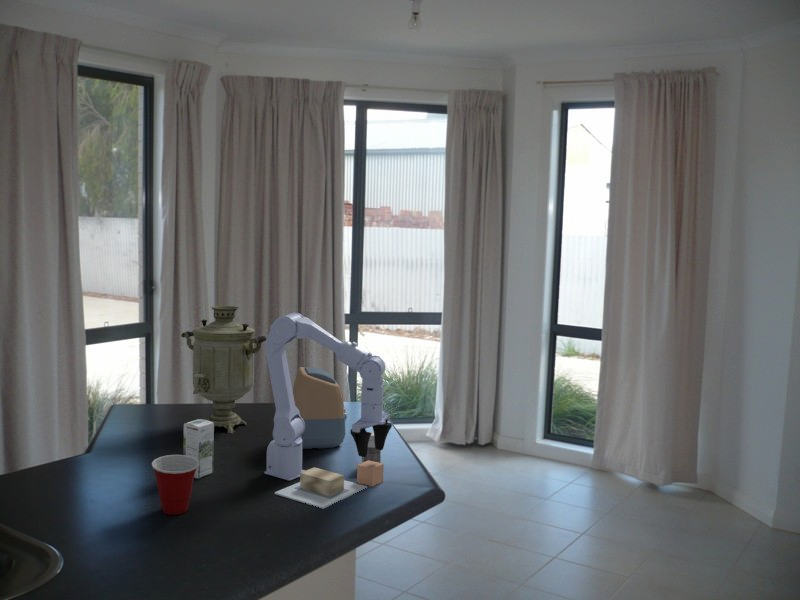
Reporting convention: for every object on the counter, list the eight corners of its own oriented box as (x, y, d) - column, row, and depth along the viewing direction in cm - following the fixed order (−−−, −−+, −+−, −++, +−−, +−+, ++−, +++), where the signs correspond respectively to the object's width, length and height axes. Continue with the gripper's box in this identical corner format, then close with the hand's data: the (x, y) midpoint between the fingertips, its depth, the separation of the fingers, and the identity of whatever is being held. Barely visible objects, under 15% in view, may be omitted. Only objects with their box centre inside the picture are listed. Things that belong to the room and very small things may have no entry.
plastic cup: (173, 523, 171) (173, 472, 170) (142, 512, 177) (141, 463, 175) (209, 508, 180) (209, 459, 179) (178, 498, 186) (177, 451, 185)
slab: (300, 487, 194) (300, 472, 194) (314, 481, 199) (314, 467, 198) (330, 496, 189) (330, 481, 188) (343, 490, 193) (344, 475, 193)
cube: (357, 483, 200) (357, 464, 200) (368, 477, 205) (368, 460, 204) (372, 487, 198) (372, 468, 197) (383, 481, 202) (383, 463, 201)
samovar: (154, 428, 244) (153, 307, 240) (216, 412, 266) (216, 300, 261) (216, 446, 227) (217, 316, 223) (277, 428, 249) (279, 308, 244)
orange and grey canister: (347, 449, 229) (348, 374, 226) (292, 452, 225) (293, 375, 222) (338, 433, 245) (339, 363, 242) (286, 436, 241) (287, 364, 238)
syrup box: (198, 469, 207) (198, 418, 206) (214, 473, 204) (214, 421, 203) (182, 475, 202) (182, 422, 201) (198, 479, 199) (198, 426, 198)
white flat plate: (274, 493, 191) (274, 492, 191) (320, 474, 206) (320, 473, 205) (323, 508, 182) (323, 507, 182) (367, 487, 197) (367, 486, 197)
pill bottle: (384, 468, 212) (384, 434, 211) (367, 471, 209) (368, 437, 208) (374, 462, 217) (374, 429, 216) (358, 465, 214) (358, 432, 213)
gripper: (367, 410, 190) (366, 462, 192) (399, 400, 202) (398, 448, 204) (346, 406, 194) (345, 457, 196) (378, 395, 206) (377, 444, 208)
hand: (370, 452), depth 200 cm, fingers open, 7 cm apart
